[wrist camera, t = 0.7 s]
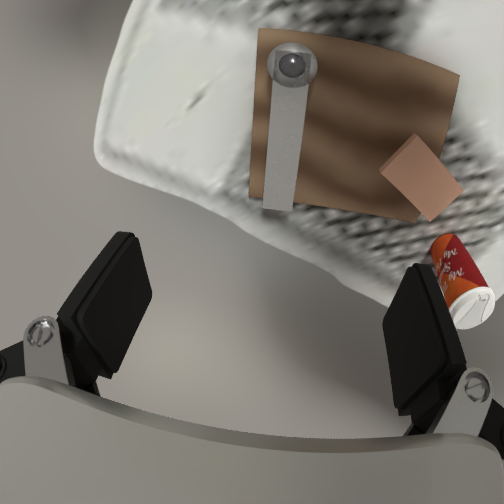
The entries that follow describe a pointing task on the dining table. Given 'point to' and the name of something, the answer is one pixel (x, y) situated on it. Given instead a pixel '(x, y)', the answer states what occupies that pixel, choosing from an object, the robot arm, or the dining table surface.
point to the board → (354, 121)
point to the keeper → (421, 177)
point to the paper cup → (461, 282)
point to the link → (286, 121)
